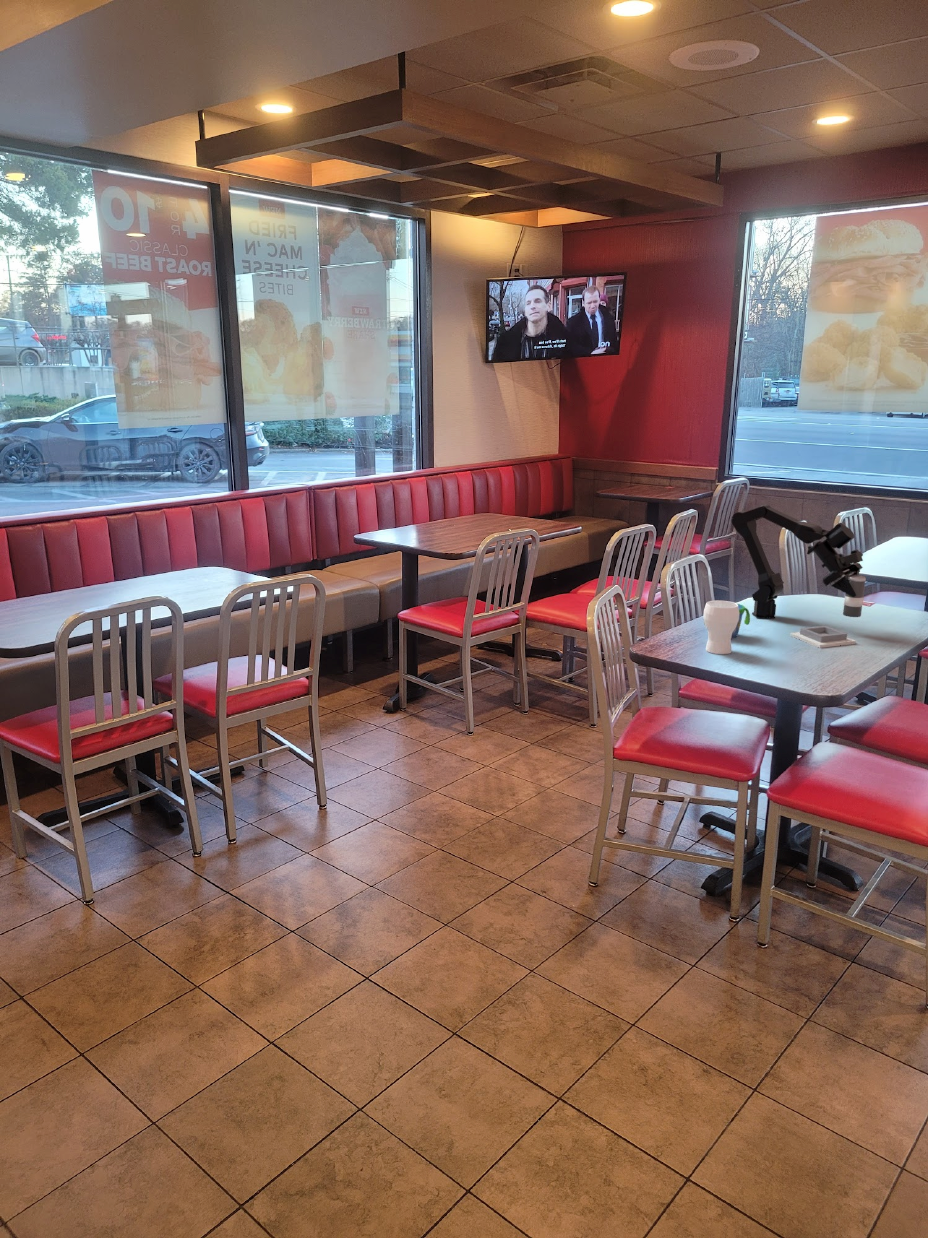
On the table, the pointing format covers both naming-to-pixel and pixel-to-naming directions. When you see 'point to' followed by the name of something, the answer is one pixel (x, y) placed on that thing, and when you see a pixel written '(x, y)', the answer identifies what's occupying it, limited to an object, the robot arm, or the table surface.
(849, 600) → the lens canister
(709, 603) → the cup
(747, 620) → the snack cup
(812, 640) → the square framed plate
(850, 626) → the table surface
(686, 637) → the table surface
